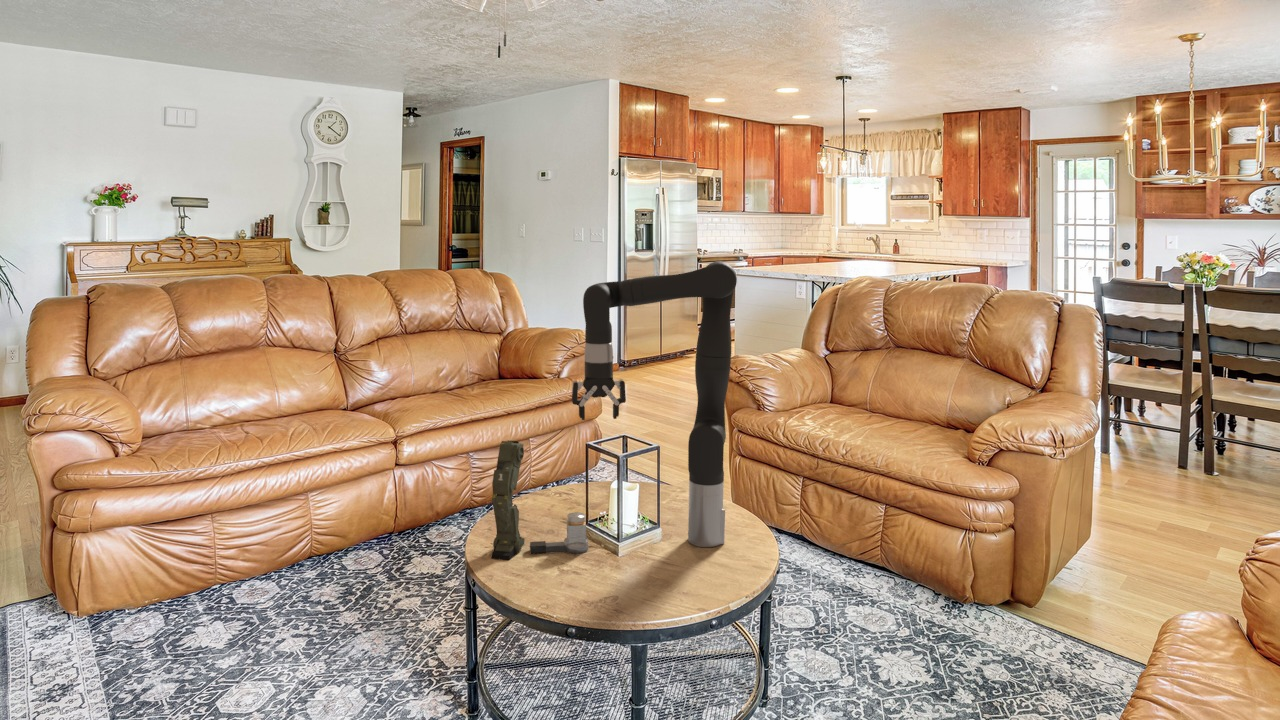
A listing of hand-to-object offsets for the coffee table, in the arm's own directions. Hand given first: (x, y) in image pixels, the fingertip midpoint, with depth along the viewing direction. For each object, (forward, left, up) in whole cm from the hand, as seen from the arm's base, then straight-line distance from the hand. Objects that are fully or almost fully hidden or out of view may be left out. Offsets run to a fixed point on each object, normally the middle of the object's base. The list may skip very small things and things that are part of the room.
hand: (598, 418), depth 202 cm
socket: (+7, +8, -31) cm, 32 cm away
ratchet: (+11, +8, -33) cm, 36 cm away
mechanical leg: (+25, +5, -33) cm, 42 cm away
